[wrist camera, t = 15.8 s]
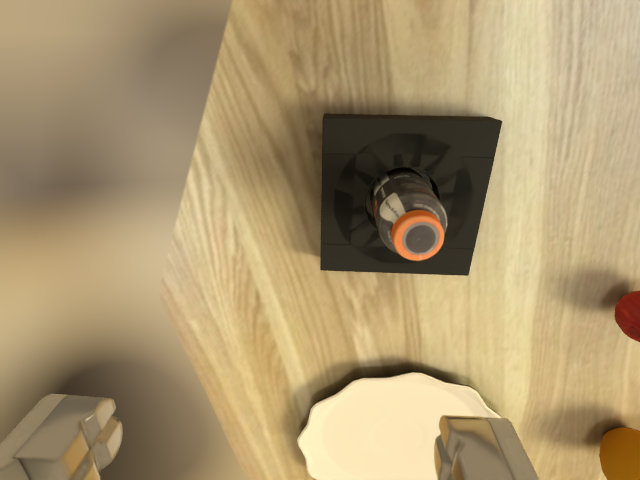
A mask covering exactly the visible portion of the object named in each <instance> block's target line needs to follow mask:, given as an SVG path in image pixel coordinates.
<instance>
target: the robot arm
mask: <svg viewBox="0 0 640 480" xmlns="http://www.w3.org/2000/svg"><path fill="white" fill-rule="evenodd" d="M115 409H116V407H115V404H114V401H113V399H109V398H97V397H85V396H73V395H58V394H49V395H48V396H46V397H44V398H43V399H41V400H40V401H39V402H38V404H37V405H36V406H35V407H34V408H33V409H32V410H31V411H30V412H29V413H28V414H27V416H26V417H25V418H24V419H23V420H22V421H21V422H20V423H19V424H18V425H17V427H15V429H14V430H13V431H12V432H11V433H10V434H9V435H8V436H7V437H6V439H5V440H4V441H3V442H2V443H1V444H0V480H101V478H100V470H101V469H103V468H104V467H105V466H107V465H108V464H109V463H111V462H112V460H113V458H114V457H115V455H116V453H117V451H118V449H119V445H120V443H121V439H122V425H121V422H120V420H119V419H118V418H117V417H115V416H114V415H113V412H114V411H115ZM439 429H440V433H441V434H440V435H439V436H438V437H436V439H435V444H434V463H435V470H436V474H437V479H438V480H539V478H538V476H537V474H536V472H535V470H534V468H533V466H532V464H531V462H530V460H529V458H528V456H527V454H526V451H525V449H524V447H523V445H522V443H521V441H520V439H519V437H518V435H517V433H516V431H515V429H514V427H513V425H512V423H511V422H510V421H509V420H508V419H507V418H489V417H485V418H484V417H478V416H452V415H443V416H442V417H441V418H440V421H439Z"/></svg>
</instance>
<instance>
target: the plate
mask: <svg viewBox="0 0 640 480" xmlns="http://www.w3.org/2000/svg"><path fill="white" fill-rule="evenodd" d="M443 415H452V416H478V417H484V418H485V417H489V418H502V417H501V416H500V415H499V414H497V413H496V412H495V411H493V410H492V409H491V408H489V407H488V406H487V405H486V404H485V402H484V401H483V399H482V398H481V396H480V395H479V393H478V392H477V391H476V390H475V389H473V388H472V387H470V386H467V385H461V384H456V383H450V382H444V381H442V380H439V379H437V378H435V377H432V376H430V375H427V374H425V373H423V372H408V373H404V374H399V375H394V376H390V377H362V378H359V379H356V380H353V381H351V382H350V383H349V384H348V385H346V386H345V387H344V388H343V389H341V390H340V391H339V392H338V393H336V394H334V395H332V396H329V397H327V398H325V399H323V400H320V401H318V402H316V403H315V404H314V405H313V406H312V407H311V410H310V414H309V418H308V422H307V425H306V426H305V427H304V429H303V430H302V432H301V433H300V434H299V436H298V440H297V444H298V446H299V448H300V449H301V451H302V453H303V455H304V457H305V460H306V467H307V472H308V473H309V474H310V476H311V477H313V478H315V479H317V480H438V479H437V474H436V470H435V463H434V444H435V439H436V437H438V436H439V435H440V434H441V433H440V429H439V421H440V418H441V417H442V416H443Z"/></svg>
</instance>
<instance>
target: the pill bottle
mask: <svg viewBox="0 0 640 480" xmlns="http://www.w3.org/2000/svg"><path fill="white" fill-rule="evenodd" d="M371 203H372V207H373V212H374V216H375V220H376V224H377V228H378V232H379V236H380V238H381V240H382V241H383V243H384V244H385V245H386V246H387V247H388V248H389V249H390V250H392V251H394V252H396V253H398V254H400V255H401V256H402V257H404V258H406V259H409V260H415V261H420V260H424V259H427V258H430V257H432V256H433V255H434V254H436V253H437V252H438V251H439V249H440V248H441V246H442V244H443V241H444V234H445V232H446V228H447V215H446V211H445V209H444V207H443V205H442V204H441V202H440V201H439V200H438V198H437V197H436V195H435V194H434V193H433V191H432V190H431V189H430V187H429V186H428V185H427V183H426V182H425V181H424V180H423V178H422V177H421V176H420V175H419V174H418V173H416V172H415V171H413V170H411V169H408V168H396V169H393V170H390V171H387V172H385V173H383V174H382V175H381V176H380V177H379V178H378V179H377V180H376V181H375V183H374V185H373V187H372V190H371Z"/></svg>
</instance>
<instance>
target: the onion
mask: <svg viewBox="0 0 640 480" xmlns="http://www.w3.org/2000/svg"><path fill="white" fill-rule="evenodd" d="M615 320H616V322H617V324H618V325H619V327H620V328H621V329H622V331H623V332H624V333H625V334H626V335H627V336H628V337H630V338H632V339H634V340H636V341H638V342H640V291H635V292H631V293H629V294H626V295H625V296H624V297H622V298H621V299H620V300H619V302H618V304H617V305H616V308H615Z"/></svg>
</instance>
